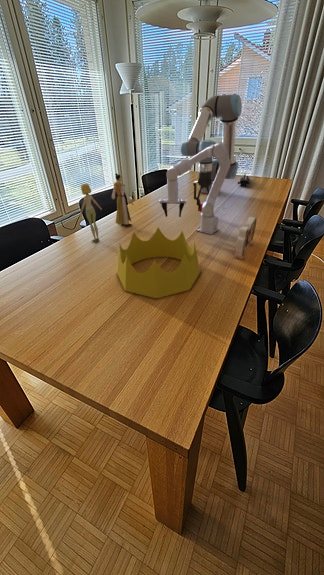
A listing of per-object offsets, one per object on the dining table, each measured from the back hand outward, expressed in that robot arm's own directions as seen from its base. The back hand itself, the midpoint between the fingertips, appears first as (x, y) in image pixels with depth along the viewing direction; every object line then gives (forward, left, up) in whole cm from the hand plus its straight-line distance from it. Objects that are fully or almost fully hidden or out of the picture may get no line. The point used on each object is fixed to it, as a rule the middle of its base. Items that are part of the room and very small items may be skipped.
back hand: (203, 210), depth 166 cm
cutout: (+45, +22, -4) cm, 50 cm away
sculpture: (+40, -57, -4) cm, 69 cm away
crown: (+70, -17, -4) cm, 72 cm away
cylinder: (0, 0, 0) cm, 0 cm away
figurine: (+18, -47, -4) cm, 50 cm away
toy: (-85, +33, -4) cm, 92 cm away
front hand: (+21, -16, +4) cm, 27 cm away
